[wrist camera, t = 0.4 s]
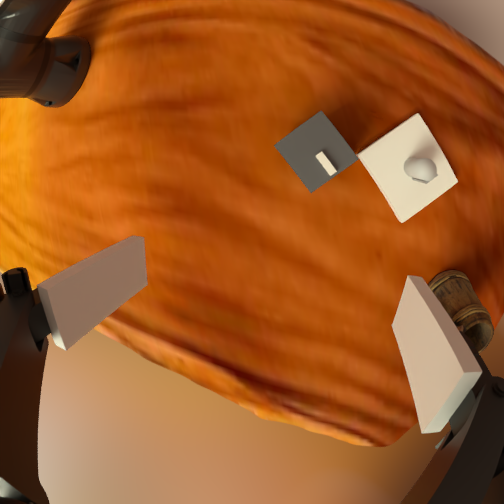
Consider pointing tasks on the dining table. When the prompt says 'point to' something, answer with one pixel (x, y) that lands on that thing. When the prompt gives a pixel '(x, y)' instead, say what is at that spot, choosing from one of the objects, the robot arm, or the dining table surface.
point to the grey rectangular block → (316, 151)
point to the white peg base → (408, 167)
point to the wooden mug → (463, 307)
